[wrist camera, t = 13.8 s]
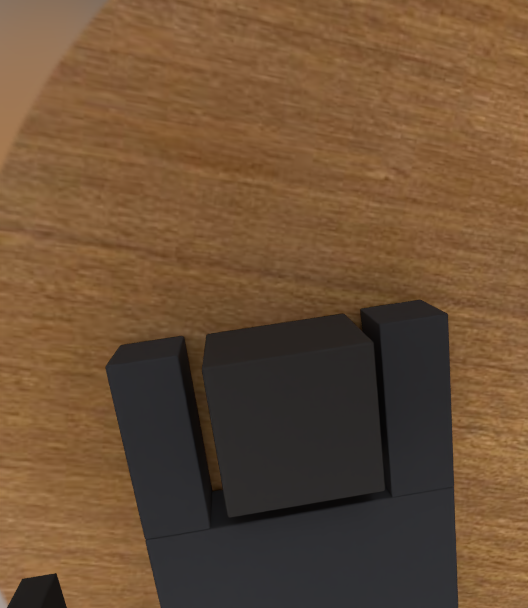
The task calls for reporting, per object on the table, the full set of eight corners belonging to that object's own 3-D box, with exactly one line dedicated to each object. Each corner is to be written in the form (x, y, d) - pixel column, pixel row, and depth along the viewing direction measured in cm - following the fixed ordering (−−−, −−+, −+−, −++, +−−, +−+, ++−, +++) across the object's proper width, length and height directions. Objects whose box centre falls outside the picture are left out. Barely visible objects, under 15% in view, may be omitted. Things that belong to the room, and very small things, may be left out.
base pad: (119, 344, 19) (104, 366, 17) (420, 299, 20) (448, 313, 17) (185, 643, 23) (180, 697, 20) (435, 597, 23) (460, 643, 21)
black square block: (205, 333, 19) (201, 368, 15) (344, 312, 20) (374, 341, 16) (227, 458, 21) (227, 518, 17) (356, 437, 21) (385, 491, 17)
